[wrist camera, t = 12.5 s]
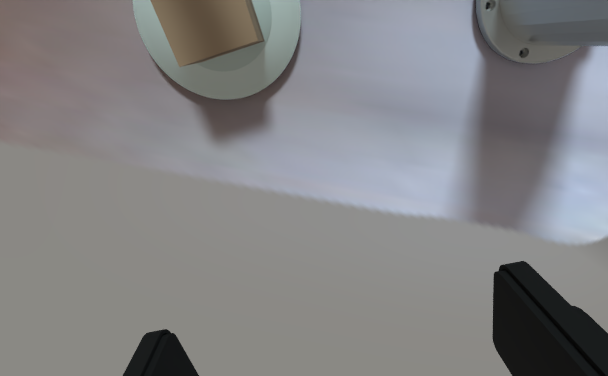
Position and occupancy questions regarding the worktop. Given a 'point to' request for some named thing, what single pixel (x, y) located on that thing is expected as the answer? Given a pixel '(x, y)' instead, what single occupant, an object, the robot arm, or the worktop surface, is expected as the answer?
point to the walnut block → (207, 27)
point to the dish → (233, 66)
